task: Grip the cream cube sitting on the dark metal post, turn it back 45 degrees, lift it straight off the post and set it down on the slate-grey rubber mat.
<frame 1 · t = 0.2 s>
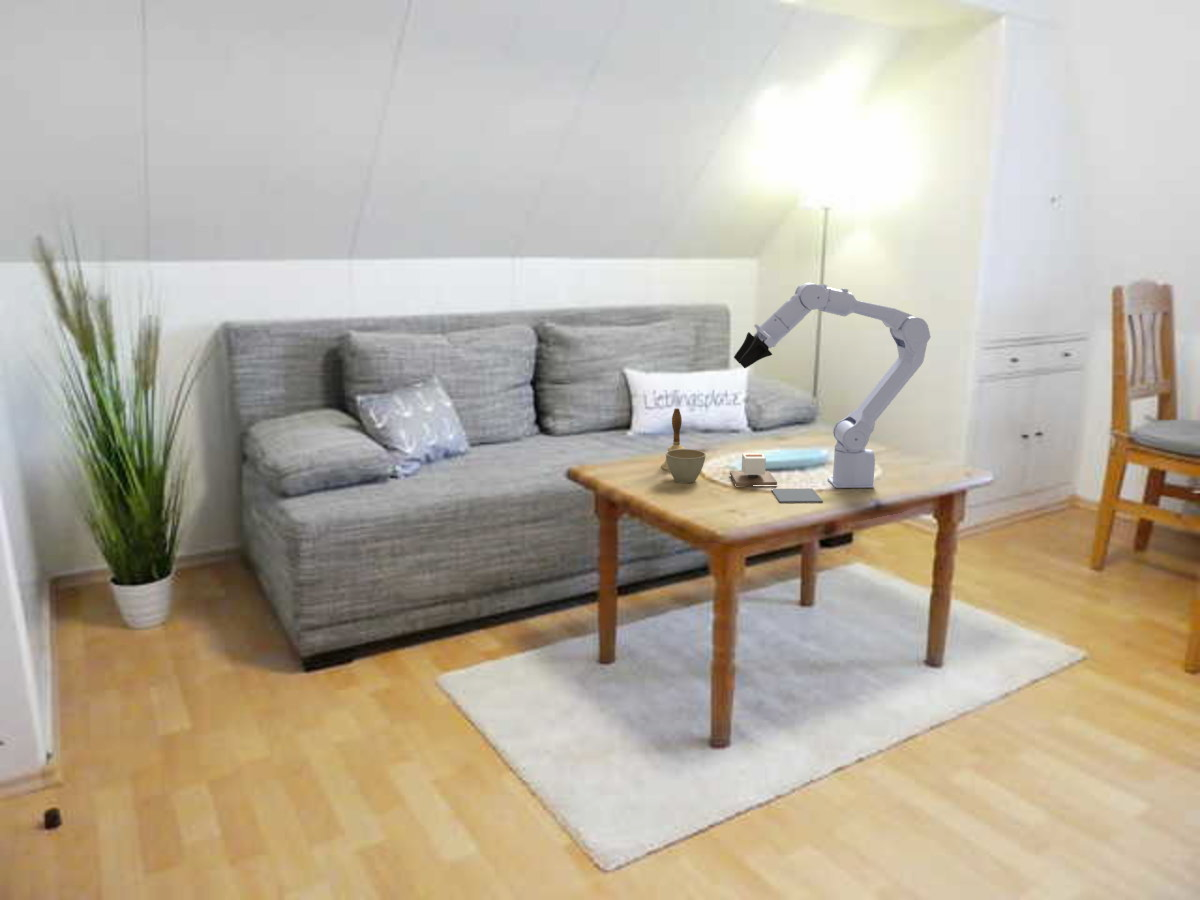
hand: (739, 362, 206), 30 cm above the table, tool tilted 45°, fingers open, 7 cm apart
cream cube: (753, 472, 215), point 2 cm above the table, touching post stand
post stand: (752, 481, 216), on the table
hand bell: (676, 468, 229), on the table
flower pot: (685, 481, 217), on the table
mat: (796, 496, 203), on the table
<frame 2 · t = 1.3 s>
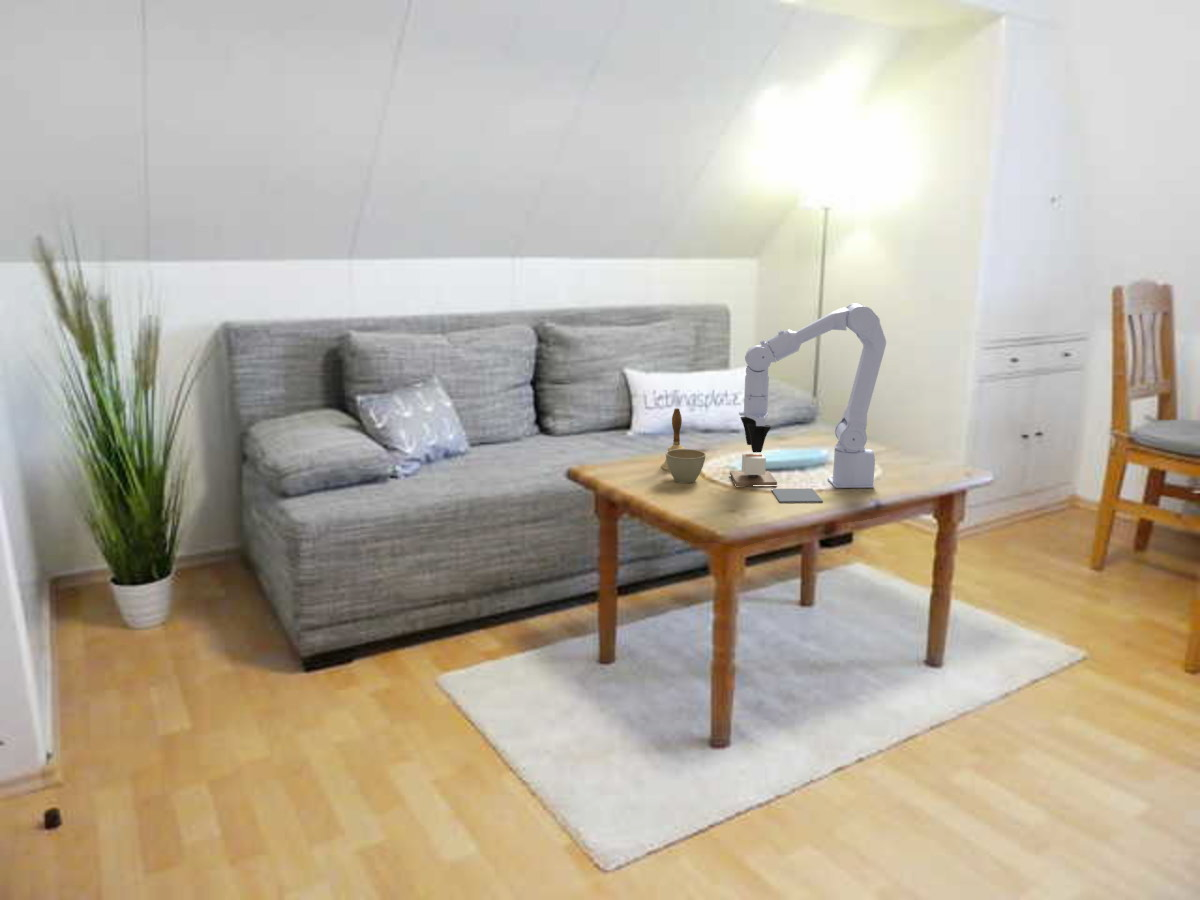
hand: (754, 448, 214), 9 cm above the table, tool pointing down, fingers open, 7 cm apart
nothing on the table moved.
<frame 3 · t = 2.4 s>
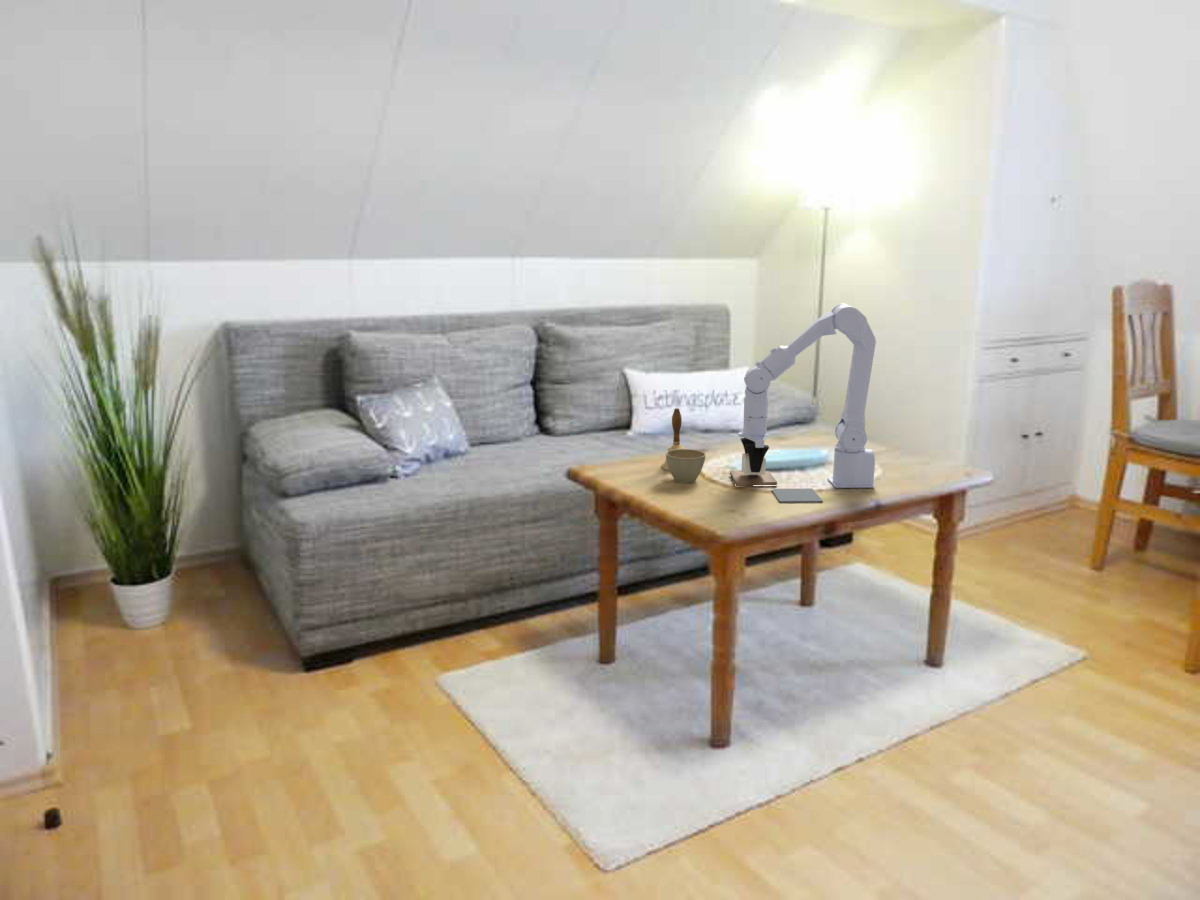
hand: (753, 468, 215), 3 cm above the table, tool pointing down, fingers closed on cream cube, 5 cm apart
cream cube: (753, 472, 215), point 2 cm above the table, touching gripper, post stand
everything else where it was.
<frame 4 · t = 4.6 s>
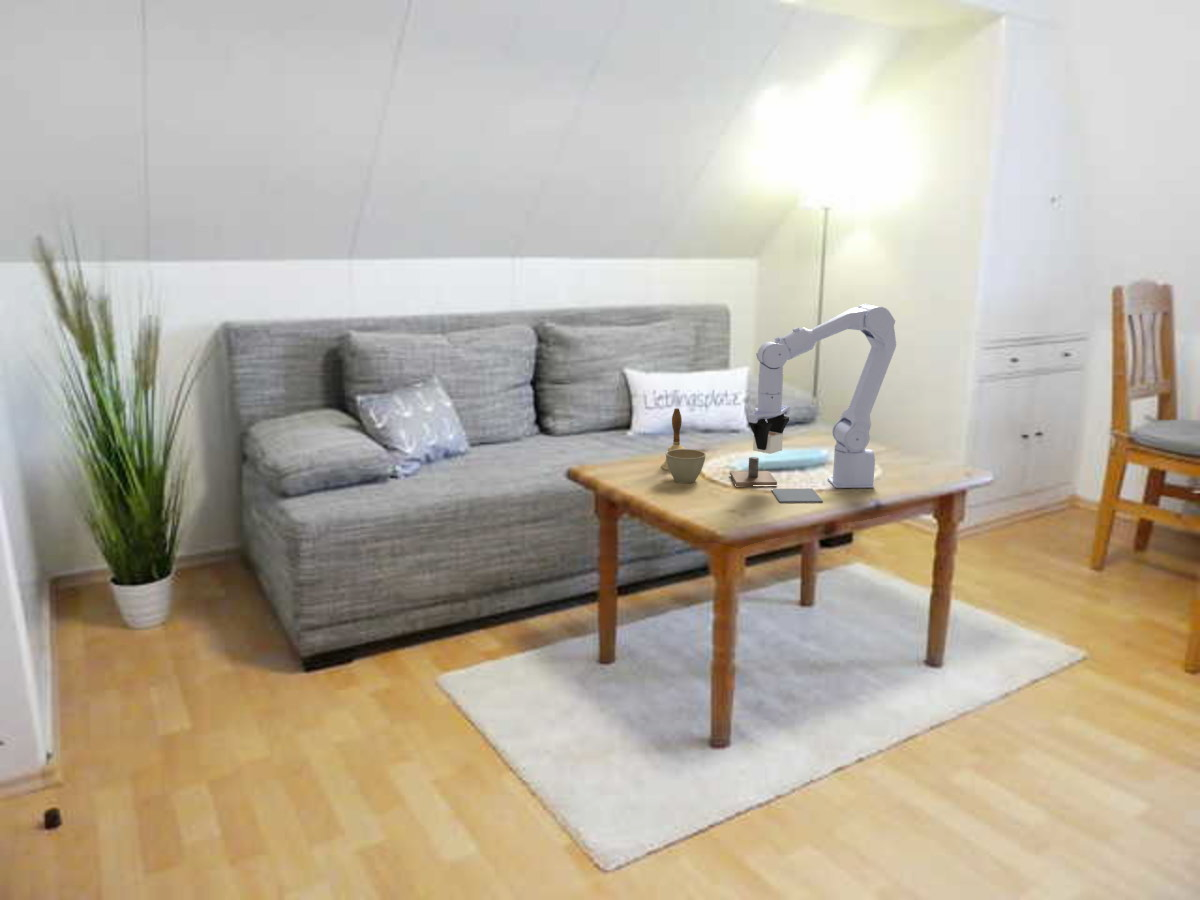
hand: (768, 447, 210), 10 cm above the table, tool pointing down, fingers closed on cream cube, 5 cm apart
cream cube: (767, 450, 210), point 9 cm above the table, touching gripper
everything else where it was.
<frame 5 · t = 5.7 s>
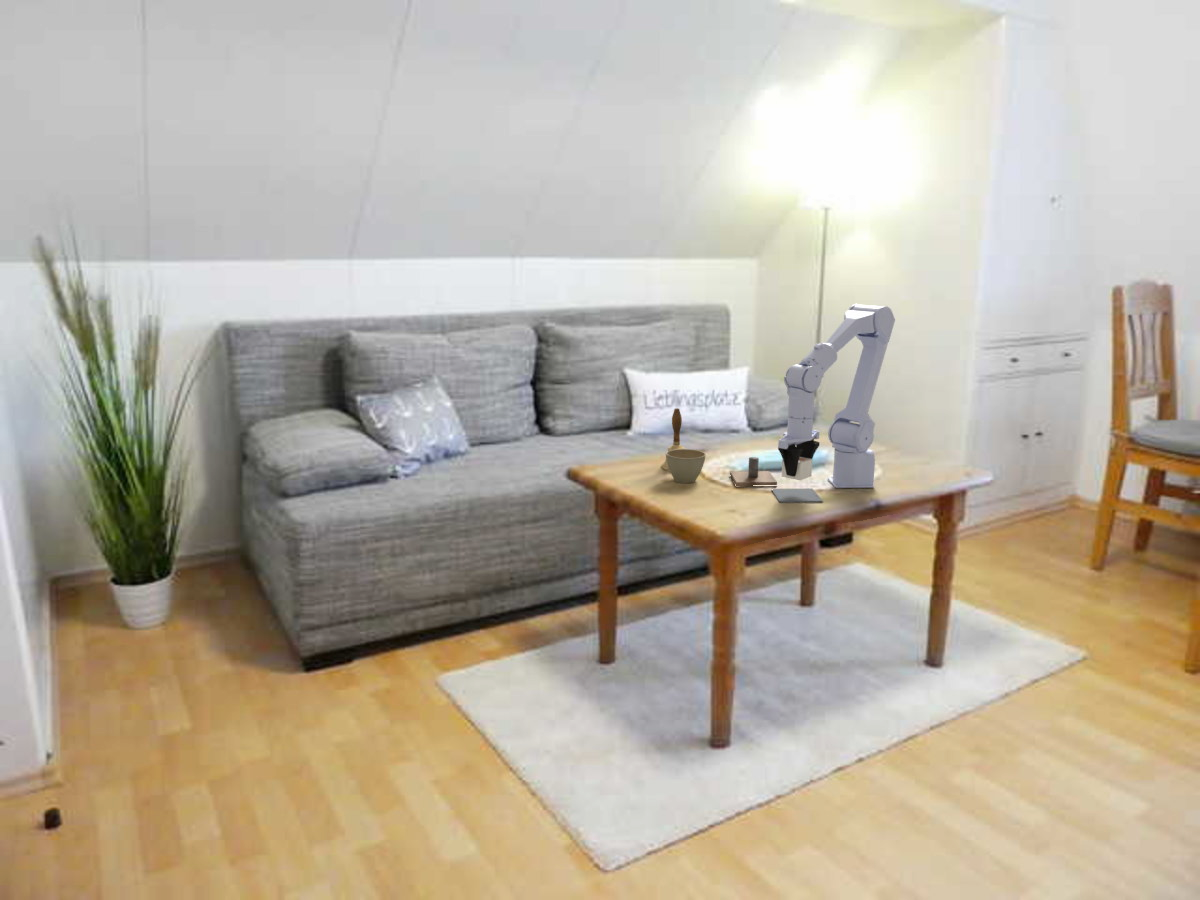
hand: (797, 473, 202), 6 cm above the table, tool pointing down, fingers closed on cream cube, 5 cm apart
cream cube: (796, 476, 202), point 5 cm above the table, touching gripper
everything else where it was.
when the fingers open (3 cm above the table, at t = 6.8 s): cream cube drops 1 cm, resting on mat.
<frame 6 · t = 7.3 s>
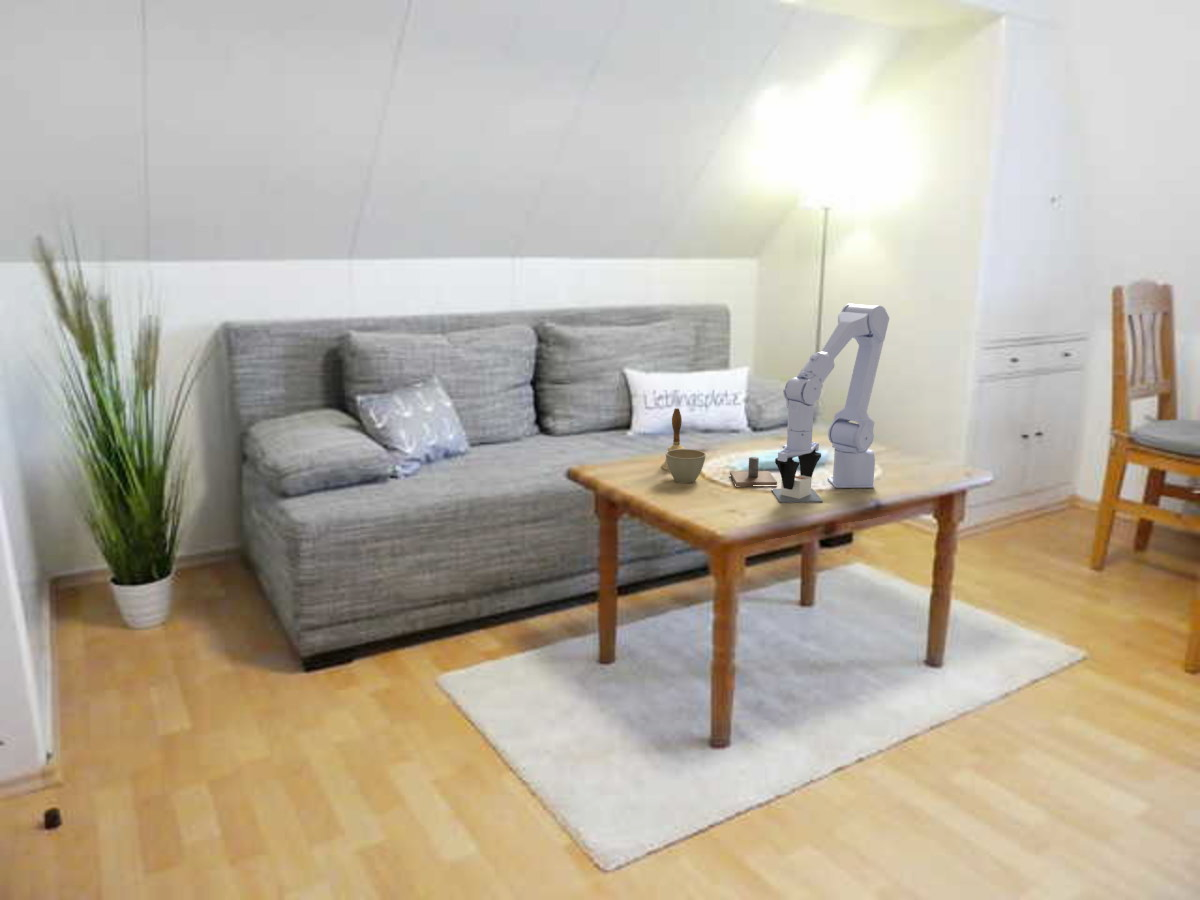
hand: (796, 485, 203), 3 cm above the table, tool pointing down, fingers open, 7 cm apart
cream cube: (795, 494, 203), resting on mat
everything else where it was.
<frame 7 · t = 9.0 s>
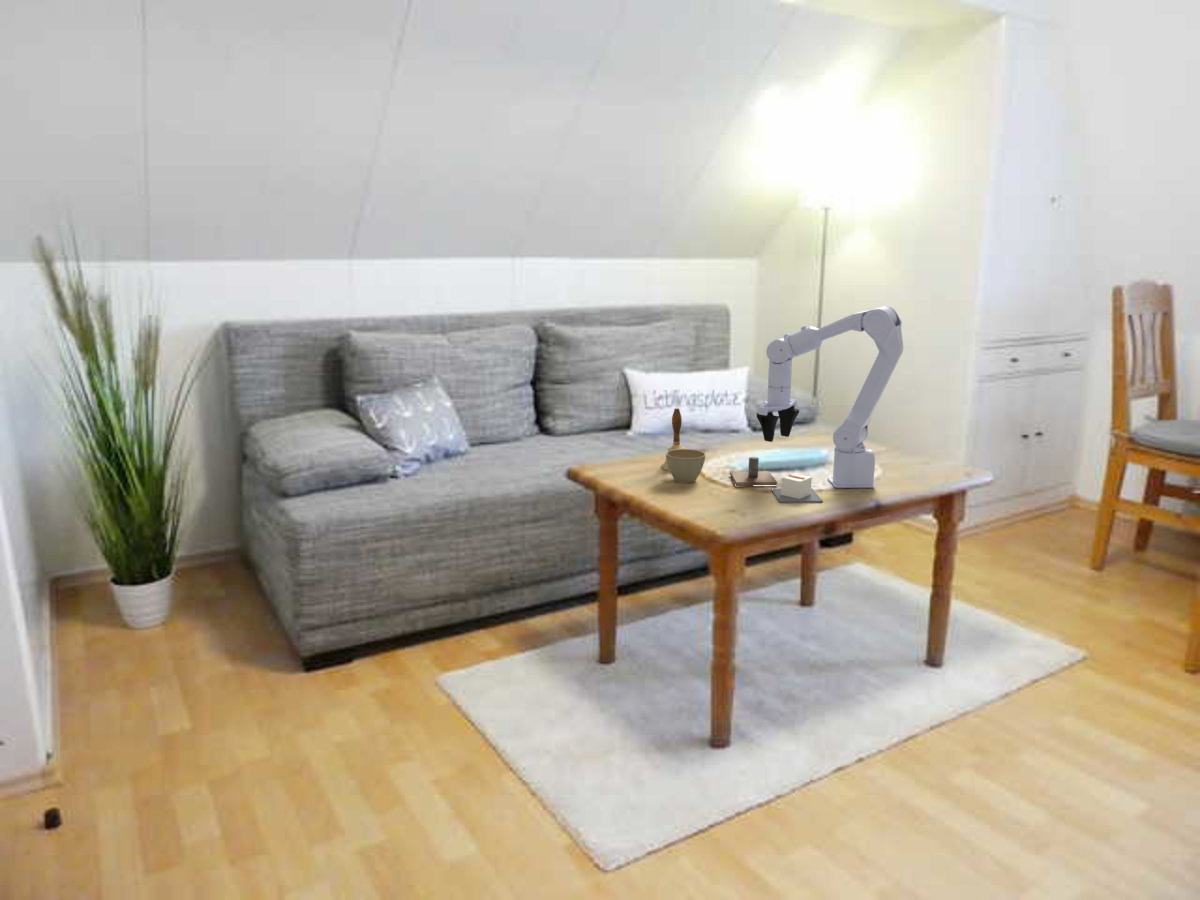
hand: (776, 438, 220), 9 cm above the table, tool pointing down, fingers open, 7 cm apart
nothing on the table moved.
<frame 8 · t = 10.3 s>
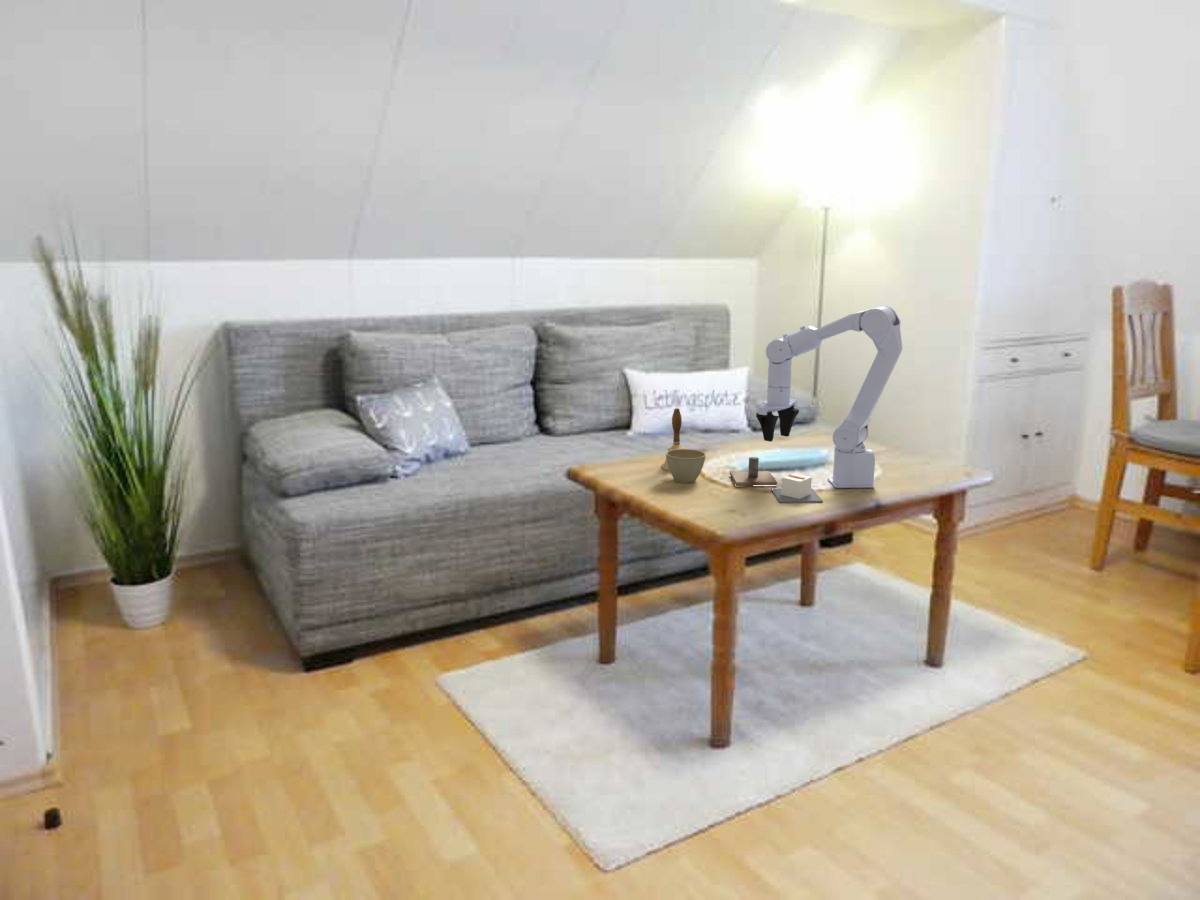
hand: (776, 438, 220), 9 cm above the table, tool pointing down, fingers open, 7 cm apart
nothing on the table moved.
at the end: cream cube 0.1 cm off-centre on the mat, point 0.4 cm above the mat's base; cream cube tilted 0°; the gripper is holding nothing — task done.
